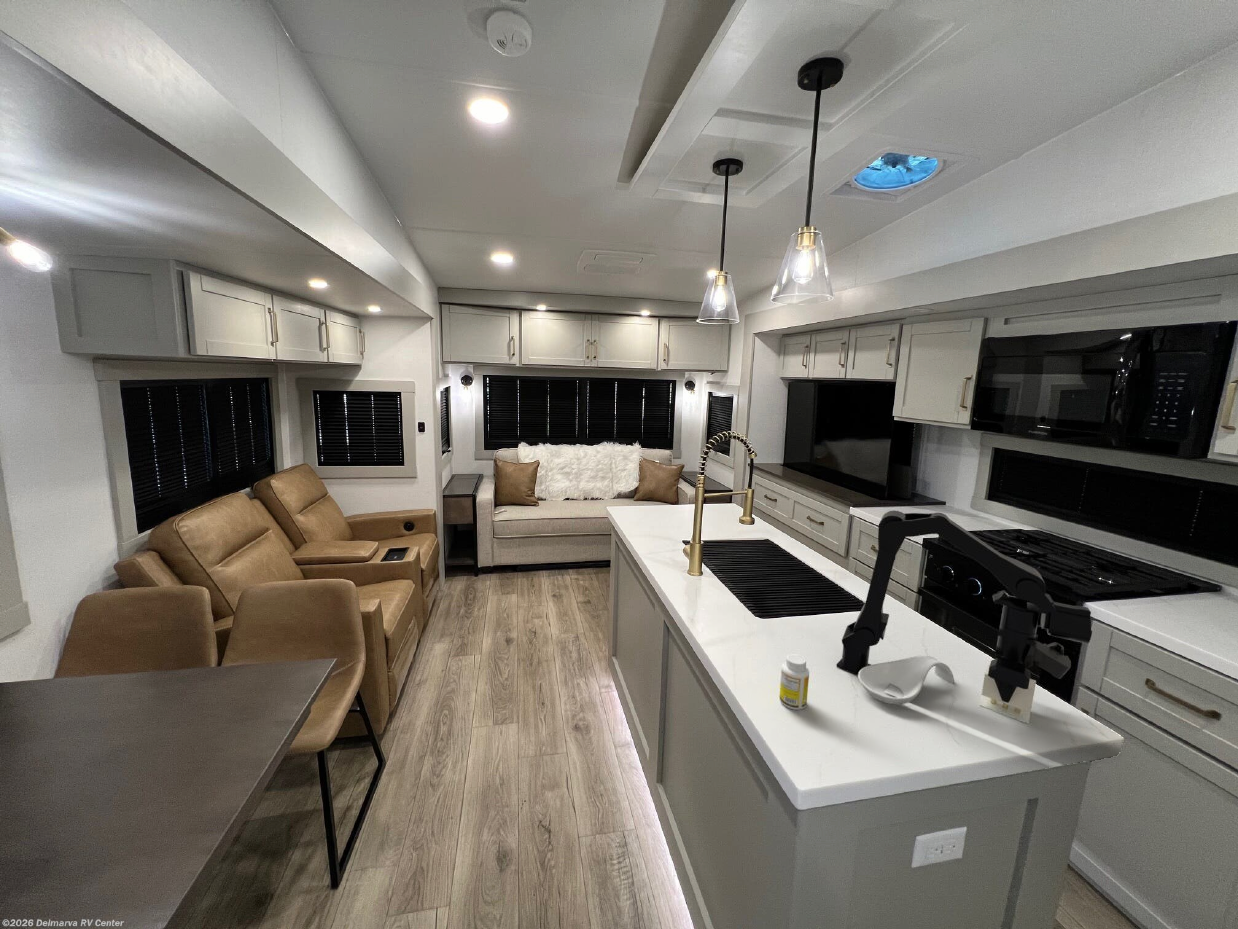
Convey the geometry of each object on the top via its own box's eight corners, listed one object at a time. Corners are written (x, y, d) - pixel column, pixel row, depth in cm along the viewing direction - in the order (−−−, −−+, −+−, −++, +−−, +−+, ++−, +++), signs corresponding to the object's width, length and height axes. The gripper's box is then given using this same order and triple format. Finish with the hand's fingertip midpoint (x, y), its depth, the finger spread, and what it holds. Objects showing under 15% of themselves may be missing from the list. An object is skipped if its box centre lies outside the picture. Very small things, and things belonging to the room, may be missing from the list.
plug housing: (1030, 712, 97) (1034, 690, 96) (981, 695, 102) (984, 673, 101) (1032, 702, 100) (1035, 680, 99) (984, 685, 105) (987, 665, 105)
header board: (1027, 729, 97) (1031, 708, 96) (978, 710, 102) (981, 690, 101) (1032, 698, 107) (1035, 679, 106) (987, 682, 112) (990, 664, 112)
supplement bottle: (798, 694, 106) (802, 651, 105) (811, 710, 101) (815, 665, 99) (774, 695, 106) (778, 652, 104) (785, 711, 100) (789, 666, 99)
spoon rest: (888, 719, 99) (892, 687, 98) (845, 685, 110) (848, 656, 109) (968, 697, 107) (973, 667, 106) (920, 668, 118) (924, 641, 117)
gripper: (1071, 661, 86) (1056, 738, 89) (1071, 625, 100) (1059, 694, 102) (993, 638, 94) (982, 710, 96) (1003, 608, 107) (993, 672, 110)
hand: (1006, 696), depth 101 cm, fingers closed on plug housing, 4 cm apart
